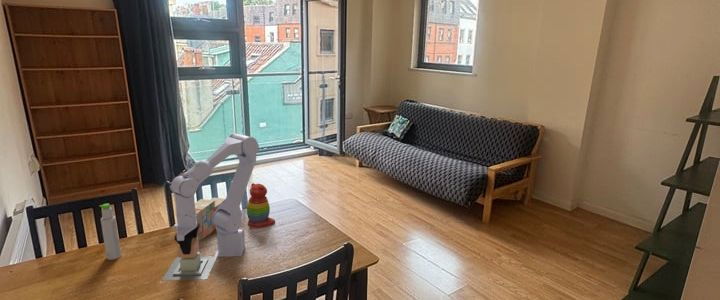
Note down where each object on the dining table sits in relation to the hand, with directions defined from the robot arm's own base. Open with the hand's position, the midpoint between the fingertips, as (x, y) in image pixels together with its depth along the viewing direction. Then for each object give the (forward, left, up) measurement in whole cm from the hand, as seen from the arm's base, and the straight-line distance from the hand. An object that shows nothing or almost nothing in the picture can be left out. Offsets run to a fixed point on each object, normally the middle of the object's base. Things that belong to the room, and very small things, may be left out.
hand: (189, 249), depth 135 cm
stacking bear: (-18, -34, -8) cm, 39 cm away
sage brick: (0, 0, -7) cm, 7 cm away
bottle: (+29, -9, -8) cm, 31 cm away
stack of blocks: (+2, -30, -8) cm, 31 cm away
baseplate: (0, 0, -8) cm, 8 cm away
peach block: (0, 0, -2) cm, 2 cm away
